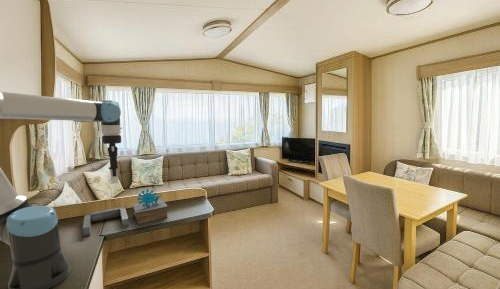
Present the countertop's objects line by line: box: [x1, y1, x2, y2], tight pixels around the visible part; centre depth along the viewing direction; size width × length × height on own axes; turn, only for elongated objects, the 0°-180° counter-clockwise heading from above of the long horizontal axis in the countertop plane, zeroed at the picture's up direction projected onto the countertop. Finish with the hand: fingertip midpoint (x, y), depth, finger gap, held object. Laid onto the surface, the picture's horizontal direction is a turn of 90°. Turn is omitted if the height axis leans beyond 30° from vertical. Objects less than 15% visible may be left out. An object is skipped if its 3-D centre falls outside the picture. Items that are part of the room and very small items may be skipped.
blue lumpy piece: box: [137, 189, 161, 207], centre depth 128 cm, size 11×6×10 cm
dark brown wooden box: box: [132, 197, 169, 225], centre depth 127 cm, size 15×15×6 cm
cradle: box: [82, 206, 130, 238], centre depth 119 cm, size 18×18×4 cm
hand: (114, 180), depth 113 cm, fingers open, 13 cm apart
